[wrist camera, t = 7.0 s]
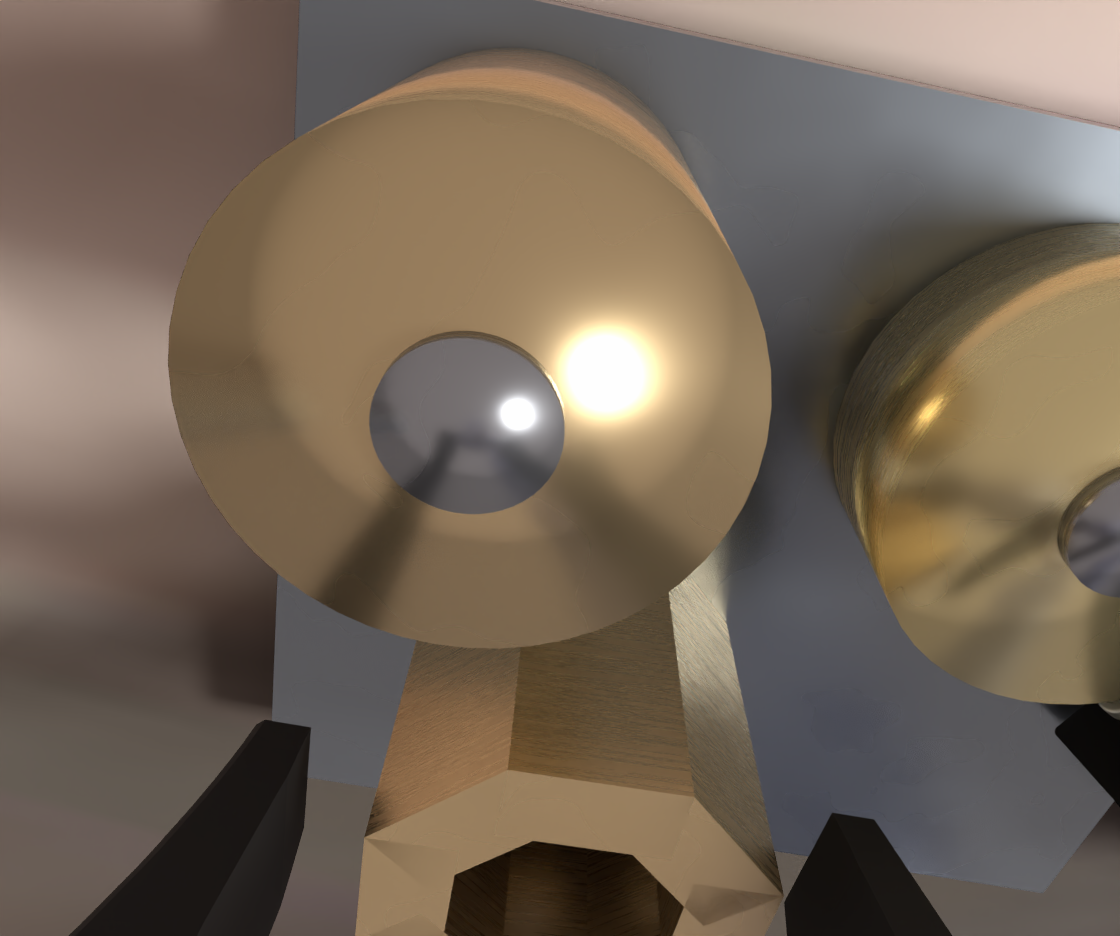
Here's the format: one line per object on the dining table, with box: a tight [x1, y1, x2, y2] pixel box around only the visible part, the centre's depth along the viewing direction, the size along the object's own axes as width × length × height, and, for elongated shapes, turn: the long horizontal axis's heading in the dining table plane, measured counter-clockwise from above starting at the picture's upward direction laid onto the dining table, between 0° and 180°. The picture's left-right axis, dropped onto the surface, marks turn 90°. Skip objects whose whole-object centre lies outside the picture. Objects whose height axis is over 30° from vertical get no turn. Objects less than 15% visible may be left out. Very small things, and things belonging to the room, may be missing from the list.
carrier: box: [168, 0, 1120, 893], centre depth 12 cm, size 14×16×7 cm
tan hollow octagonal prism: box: [355, 575, 784, 936], centre depth 13 cm, size 5×5×5 cm
